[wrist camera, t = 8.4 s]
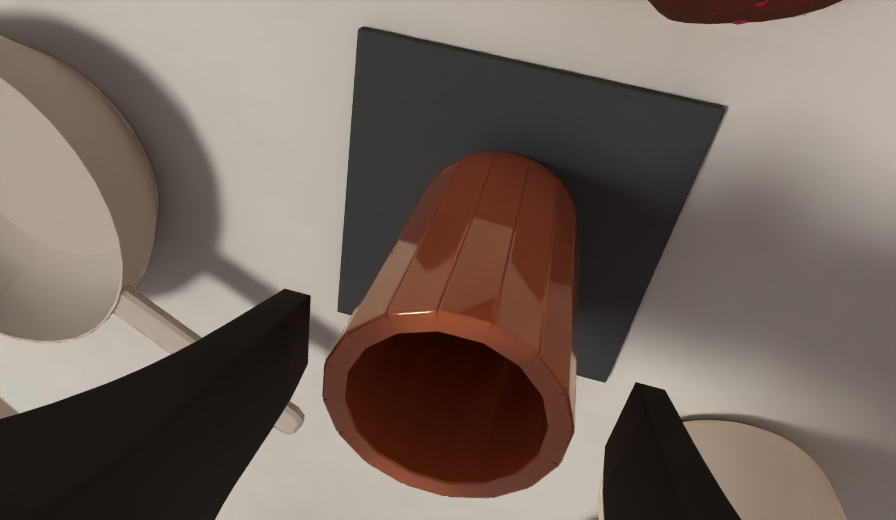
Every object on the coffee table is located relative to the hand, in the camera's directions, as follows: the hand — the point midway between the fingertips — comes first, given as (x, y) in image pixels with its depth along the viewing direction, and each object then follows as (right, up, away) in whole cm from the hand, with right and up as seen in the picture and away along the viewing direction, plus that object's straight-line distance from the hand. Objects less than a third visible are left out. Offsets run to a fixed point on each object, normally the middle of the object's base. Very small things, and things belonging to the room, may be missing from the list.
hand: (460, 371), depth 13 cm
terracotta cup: (+1, +3, +5) cm, 7 cm away
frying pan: (-12, +4, +9) cm, 15 cm away
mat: (+1, +4, +6) cm, 7 cm away
